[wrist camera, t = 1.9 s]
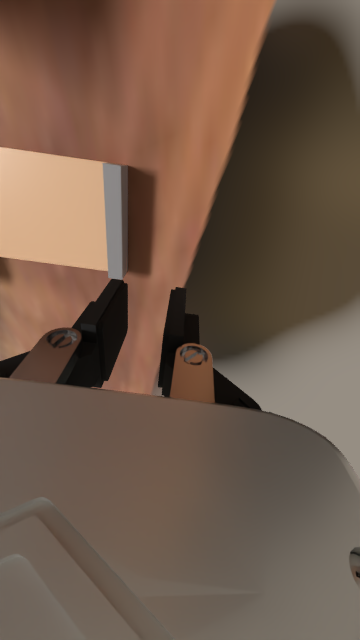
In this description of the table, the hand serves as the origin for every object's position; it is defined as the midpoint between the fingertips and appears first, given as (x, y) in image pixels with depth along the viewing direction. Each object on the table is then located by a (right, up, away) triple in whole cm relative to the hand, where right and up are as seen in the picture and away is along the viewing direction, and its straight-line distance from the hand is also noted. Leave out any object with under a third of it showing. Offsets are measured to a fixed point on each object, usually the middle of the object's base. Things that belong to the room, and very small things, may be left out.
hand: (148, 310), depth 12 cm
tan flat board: (-13, +11, +14) cm, 22 cm away
